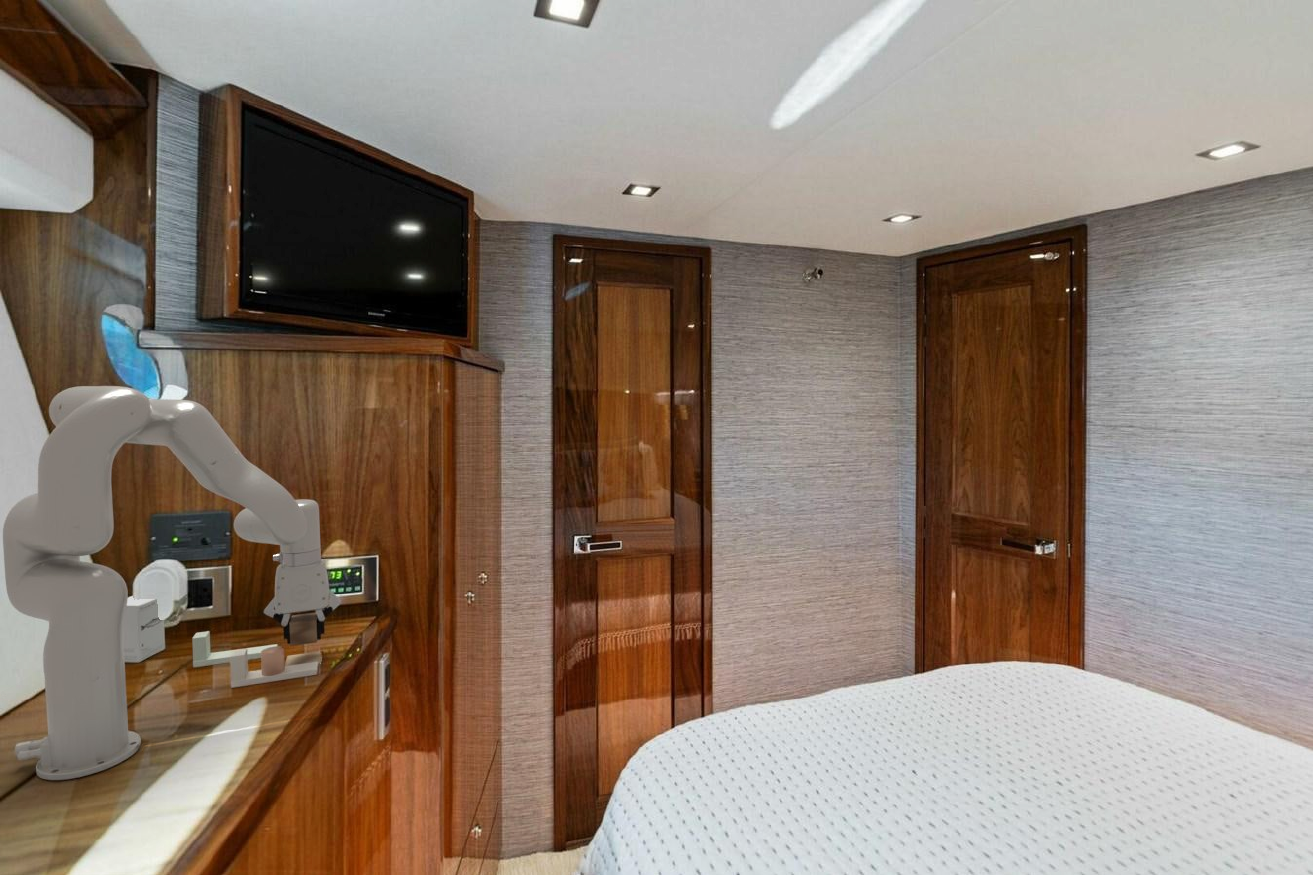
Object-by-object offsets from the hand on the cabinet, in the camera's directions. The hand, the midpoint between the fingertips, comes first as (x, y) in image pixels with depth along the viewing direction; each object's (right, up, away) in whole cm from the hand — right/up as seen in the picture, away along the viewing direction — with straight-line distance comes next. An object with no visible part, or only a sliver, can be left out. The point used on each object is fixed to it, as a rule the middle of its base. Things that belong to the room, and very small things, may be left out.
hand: (304, 638), depth 139 cm
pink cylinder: (-2, -4, -8) cm, 10 cm away
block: (0, 0, 0) cm, 0 cm away
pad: (0, -5, 0) cm, 5 cm away
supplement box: (-39, -5, +3) cm, 39 cm away
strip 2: (-1, -5, -8) cm, 10 cm away
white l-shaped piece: (-15, -5, +1) cm, 16 cm away
